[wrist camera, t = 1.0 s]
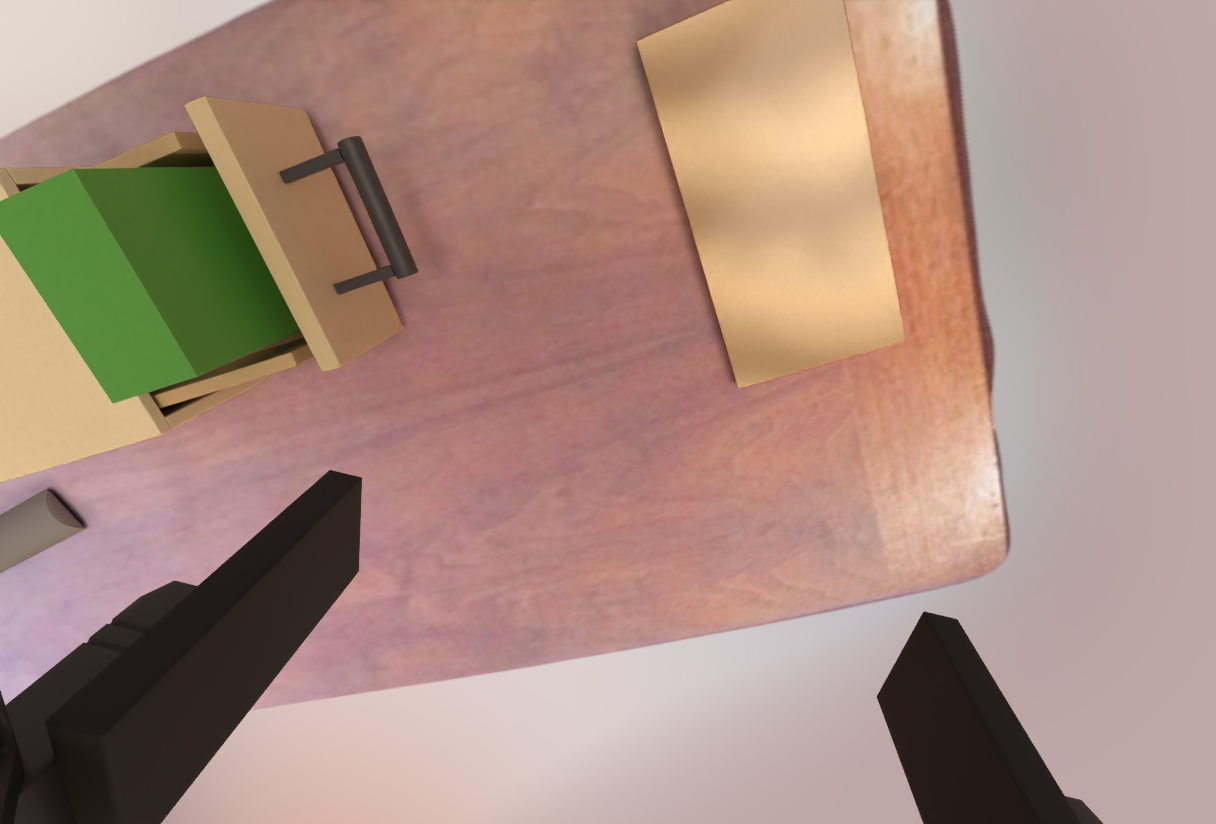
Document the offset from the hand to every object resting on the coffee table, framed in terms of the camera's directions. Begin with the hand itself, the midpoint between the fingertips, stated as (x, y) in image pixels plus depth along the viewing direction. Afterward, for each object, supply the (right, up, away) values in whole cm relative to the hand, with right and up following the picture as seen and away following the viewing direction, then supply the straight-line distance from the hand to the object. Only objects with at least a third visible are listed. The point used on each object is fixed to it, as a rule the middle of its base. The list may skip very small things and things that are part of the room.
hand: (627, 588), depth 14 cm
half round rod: (-53, -7, +38) cm, 66 cm away
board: (+9, +16, +20) cm, 27 cm away
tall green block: (-21, +14, +22) cm, 34 cm away
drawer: (-20, +14, +23) cm, 34 cm away
